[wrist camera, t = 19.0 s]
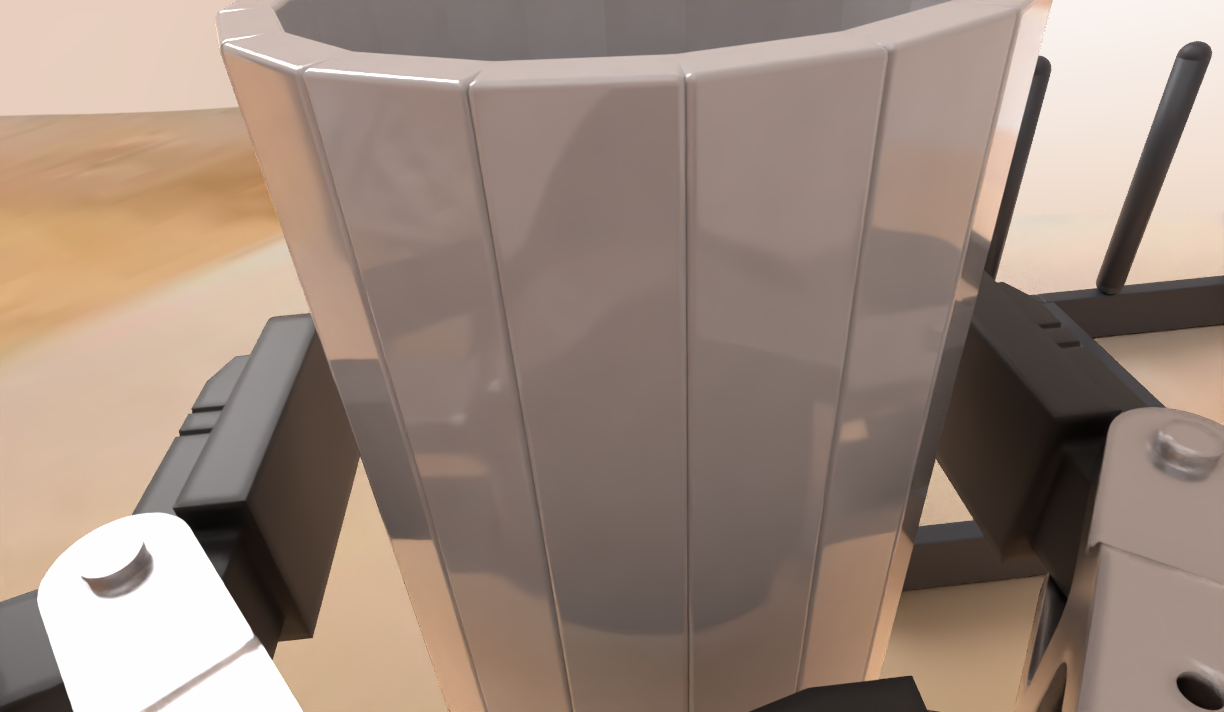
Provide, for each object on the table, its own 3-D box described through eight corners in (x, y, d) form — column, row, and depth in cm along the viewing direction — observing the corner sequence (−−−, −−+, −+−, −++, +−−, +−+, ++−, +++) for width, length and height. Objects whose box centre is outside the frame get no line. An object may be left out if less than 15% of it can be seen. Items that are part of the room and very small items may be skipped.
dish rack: (843, 598, 16) (909, 241, 11) (748, 361, 23) (764, 76, 18) (1604, 512, 17) (1984, 136, 12) (1288, 306, 24) (1445, 15, 19)
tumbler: (474, 998, 11) (23, 134, 4) (492, 619, 16) (323, -59, 9) (902, 943, 11) (1316, 20, 4) (785, 587, 17) (863, -102, 9)
